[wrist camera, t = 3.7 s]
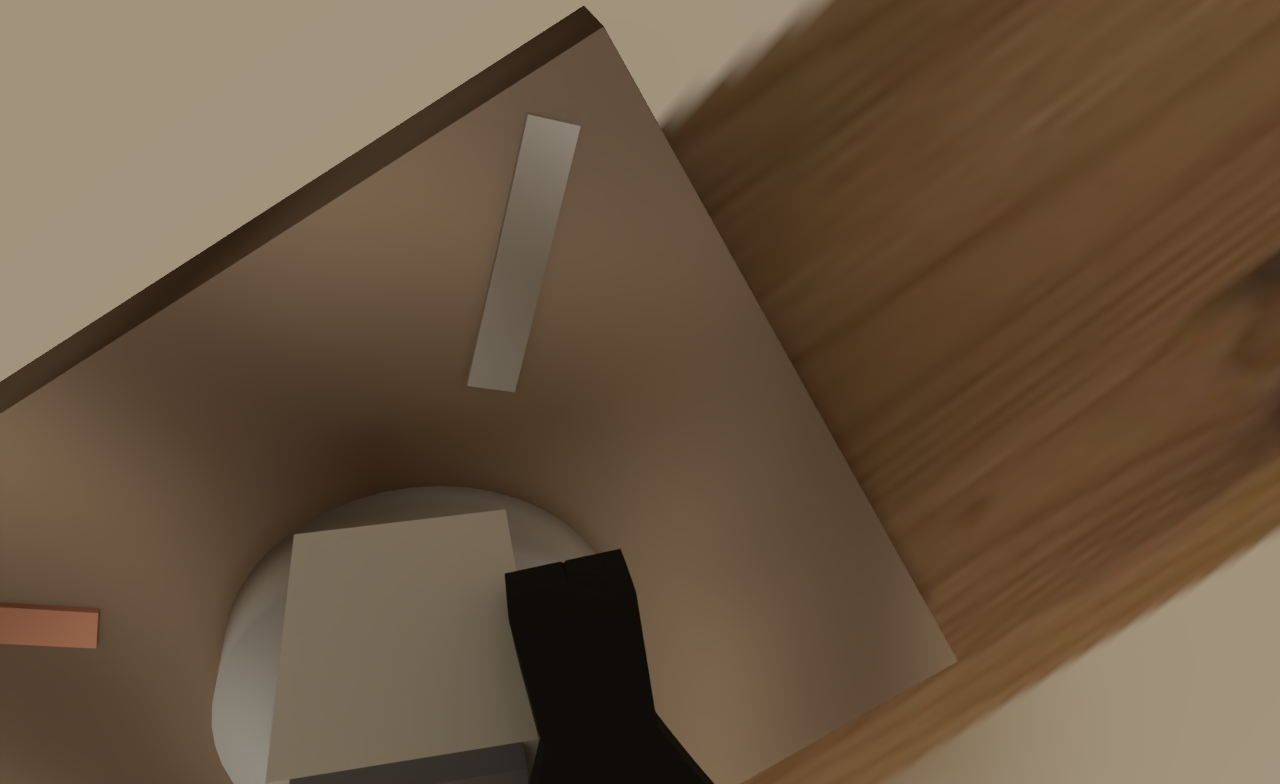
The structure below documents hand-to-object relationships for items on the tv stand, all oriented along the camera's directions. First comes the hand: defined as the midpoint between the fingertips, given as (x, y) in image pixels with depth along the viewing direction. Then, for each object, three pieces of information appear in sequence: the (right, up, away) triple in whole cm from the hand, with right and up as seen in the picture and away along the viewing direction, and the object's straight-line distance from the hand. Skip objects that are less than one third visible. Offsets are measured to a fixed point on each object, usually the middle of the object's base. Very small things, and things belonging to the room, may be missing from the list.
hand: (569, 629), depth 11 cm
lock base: (-3, -1, +7) cm, 8 cm away
